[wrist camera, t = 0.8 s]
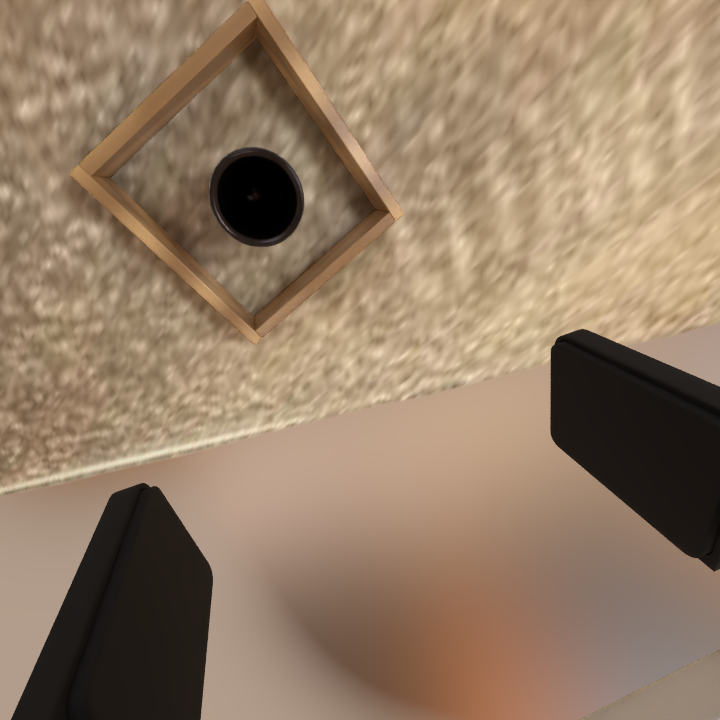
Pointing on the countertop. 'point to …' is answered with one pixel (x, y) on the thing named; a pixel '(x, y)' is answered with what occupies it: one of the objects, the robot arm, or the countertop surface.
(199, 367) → the countertop surface
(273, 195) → the planter
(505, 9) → the countertop surface
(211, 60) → the wooden square frame
